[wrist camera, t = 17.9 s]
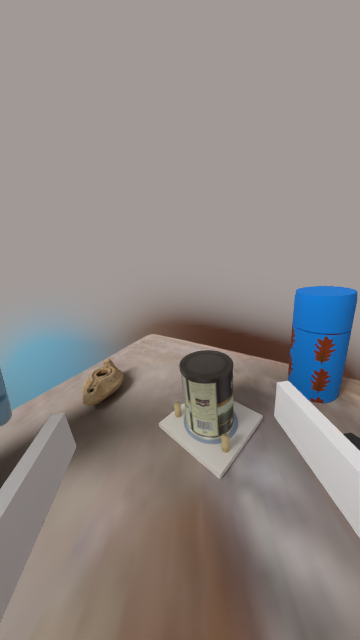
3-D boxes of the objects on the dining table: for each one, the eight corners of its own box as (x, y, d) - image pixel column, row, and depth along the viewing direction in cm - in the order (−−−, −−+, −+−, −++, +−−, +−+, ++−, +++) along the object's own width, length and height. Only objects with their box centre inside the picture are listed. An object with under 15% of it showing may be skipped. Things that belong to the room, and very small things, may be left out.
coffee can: (224, 398, 47) (222, 346, 43) (242, 435, 38) (242, 372, 33) (182, 406, 46) (176, 354, 42) (190, 445, 37) (183, 382, 32)
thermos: (291, 399, 47) (301, 297, 39) (284, 373, 56) (290, 287, 48) (347, 406, 43) (370, 295, 35) (329, 377, 52) (344, 285, 45)
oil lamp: (76, 418, 48) (67, 391, 45) (92, 381, 62) (86, 359, 60) (121, 409, 49) (114, 382, 47) (127, 375, 63) (122, 353, 61)
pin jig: (159, 426, 43) (156, 412, 42) (204, 389, 53) (203, 376, 52) (220, 479, 32) (219, 462, 31) (262, 419, 42) (263, 404, 41)
